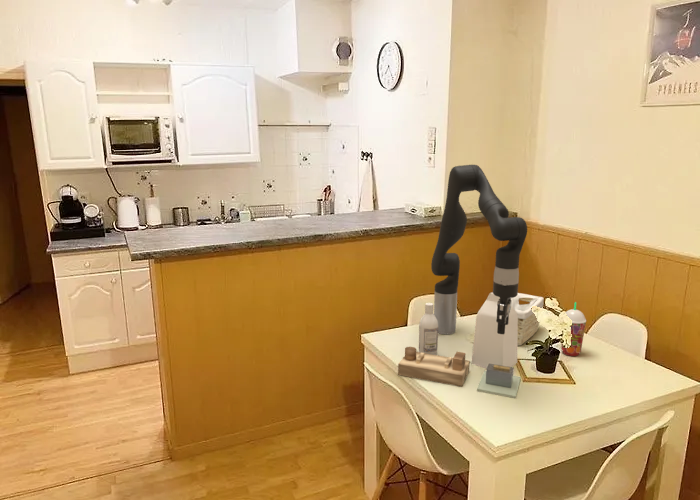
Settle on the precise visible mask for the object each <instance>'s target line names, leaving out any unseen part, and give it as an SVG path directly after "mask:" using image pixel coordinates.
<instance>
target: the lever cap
mask: <svg viewBox="0 0 700 500" xmlns="http://www.w3.org/2000/svg"><path fill="white" fill-rule="evenodd" d="M514 367H515V366H513V367H508V366H502V365H496V364H490V363H489V364H488V367H487V369H486V368H485V369H486V370H485V371H486V384H490V385H496V386H501V387H507V388H511V386H512V382H513V376H514V371H515V370H514V369H515V368H514Z"/></svg>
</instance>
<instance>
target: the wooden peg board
mask: <svg viewBox="0 0 700 500" xmlns="http://www.w3.org/2000/svg"><path fill="white" fill-rule="evenodd" d="M470 364H471V362H470V360H467V359H466V352H462V351H456V353H455V354H454V356H453V357H451V356H445V355H444V356H443V355H438V354H437V355H432V354H426V353H422V352H421V353H420V352H419V351H417V348H416V347H415V346H406V347H404V356H403V357H402V358H401V360H400V361H399V362H398V365H397V366H398V367H397V375H399V376H403V377H409V378H413V379H420V380H424V381H430V382H435V383H441V384H444V385H445V384H446V385H452V386H457V387H463V385H464V384H465V381H466V379H467V377H468V375H469V373H470Z"/></svg>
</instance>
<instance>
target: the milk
mask: <svg viewBox="0 0 700 500" xmlns="http://www.w3.org/2000/svg"><path fill="white" fill-rule="evenodd" d="M499 299H500V297H498V296H495V295H494V294H493V291H492V292H490V293H488V295H487V298H486V300H485V301H484V303H483V304H482V305H481V307H480V309H478V312H477V314H476V317H475V325H474V335H473V342H472V343H473V345H472V354H471V362H470V364H471V365H474V366H477V367H480V368H482V369H487V367H488V364H489V363H490V364H496V365H502V366H508V367H515V365H516V363H517V364H518V345H517V337H518V315H517V312H516V311H515V310H514V309H513V307H512V306H511V310H510V313H509V321H508V325H505V333H504V334H498V333H497V328H498V322H497V321H496V320H497V308H498V306H497V302H498V301H499ZM501 317H502V316H500V319H501Z"/></svg>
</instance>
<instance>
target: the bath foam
mask: <svg viewBox="0 0 700 500" xmlns="http://www.w3.org/2000/svg"><path fill="white" fill-rule="evenodd" d="M424 309H425V310H424V313H423V315H422V316H421V318H420V321H419V325H418V352H420V353H421V352H422V353H426V354H432V355H438V343H439V342H438V341H439V333H438V321H437V319H436V317H435V315H434V302H425V304H424Z"/></svg>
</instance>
